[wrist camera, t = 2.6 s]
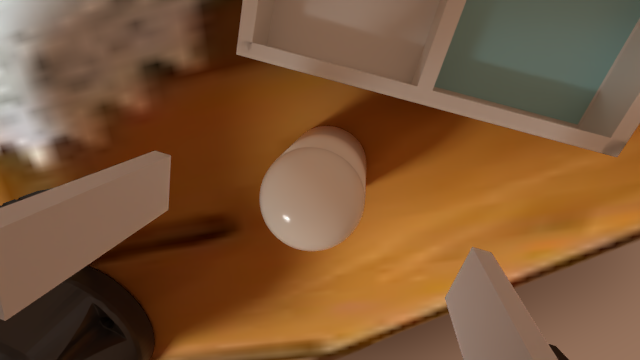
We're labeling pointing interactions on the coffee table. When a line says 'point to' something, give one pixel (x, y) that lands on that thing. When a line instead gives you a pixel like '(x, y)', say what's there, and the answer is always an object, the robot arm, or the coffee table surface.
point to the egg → (315, 190)
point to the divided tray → (470, 58)
